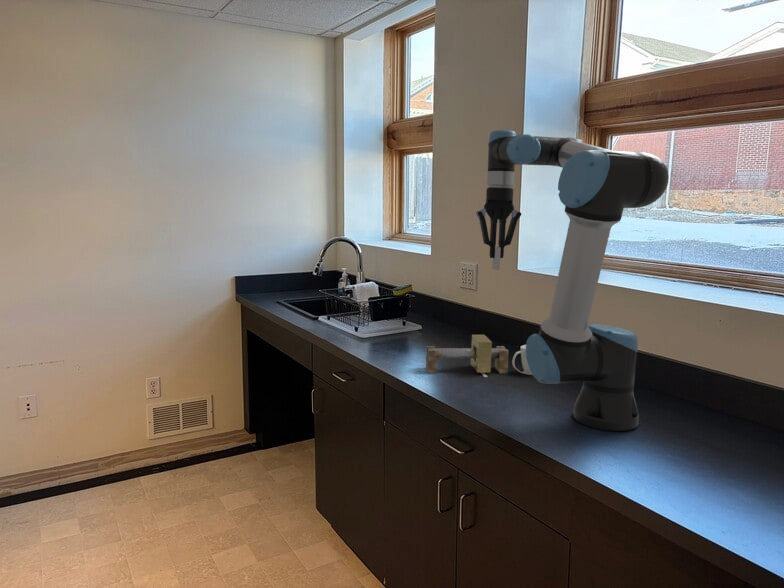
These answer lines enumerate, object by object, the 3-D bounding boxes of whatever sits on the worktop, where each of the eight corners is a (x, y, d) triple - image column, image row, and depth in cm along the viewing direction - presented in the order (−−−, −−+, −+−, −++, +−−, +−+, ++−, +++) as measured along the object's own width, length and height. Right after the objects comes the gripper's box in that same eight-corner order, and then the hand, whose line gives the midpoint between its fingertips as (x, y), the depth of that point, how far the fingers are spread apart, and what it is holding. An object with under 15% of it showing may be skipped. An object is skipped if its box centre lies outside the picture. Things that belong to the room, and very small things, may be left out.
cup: (546, 375, 183) (548, 349, 182) (518, 378, 179) (520, 351, 178) (533, 368, 189) (534, 343, 188) (505, 371, 186) (507, 346, 184)
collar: (483, 363, 191) (484, 334, 189) (490, 372, 182) (491, 342, 180) (470, 363, 190) (471, 334, 189) (477, 372, 181) (478, 342, 180)
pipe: (503, 356, 188) (504, 346, 187) (506, 360, 184) (507, 349, 184) (427, 357, 186) (427, 346, 185) (429, 360, 182) (429, 349, 182)
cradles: (502, 367, 190) (503, 345, 189) (507, 373, 184) (508, 351, 183) (425, 367, 188) (426, 345, 186) (428, 373, 182) (429, 351, 180)
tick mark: (477, 363, 193) (477, 363, 193) (487, 377, 179) (487, 376, 179) (474, 363, 193) (474, 363, 193) (484, 377, 179) (484, 376, 179)
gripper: (518, 187, 175) (513, 267, 179) (474, 186, 174) (470, 267, 178) (526, 187, 168) (521, 271, 172) (480, 186, 166) (476, 270, 171)
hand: (495, 269), depth 175 cm, fingers closed
